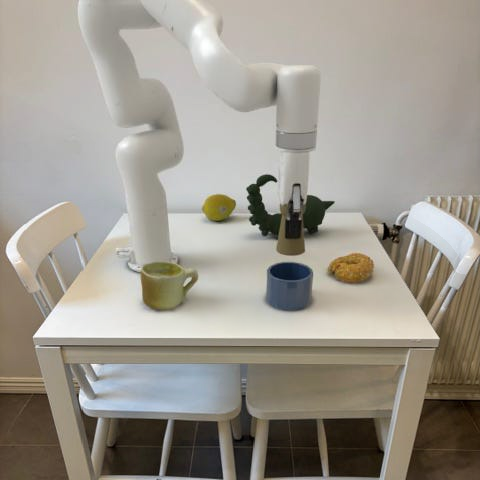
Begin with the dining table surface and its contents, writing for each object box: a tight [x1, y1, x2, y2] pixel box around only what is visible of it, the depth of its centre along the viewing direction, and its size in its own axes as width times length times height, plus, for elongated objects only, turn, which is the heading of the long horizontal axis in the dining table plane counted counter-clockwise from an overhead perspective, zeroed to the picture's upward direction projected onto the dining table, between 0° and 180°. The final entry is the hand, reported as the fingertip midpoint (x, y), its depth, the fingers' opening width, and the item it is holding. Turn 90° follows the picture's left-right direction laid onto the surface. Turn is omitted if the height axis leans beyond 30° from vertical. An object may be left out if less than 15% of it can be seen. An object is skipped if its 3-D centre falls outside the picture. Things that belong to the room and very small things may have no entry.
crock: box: [265, 261, 314, 312], centre depth 105 cm, size 10×10×7 cm
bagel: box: [327, 252, 375, 284], centre depth 116 cm, size 10×11×5 cm
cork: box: [276, 201, 306, 257], centre depth 98 cm, size 6×6×11 cm
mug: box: [140, 261, 199, 311], centre depth 105 cm, size 12×10×10 cm
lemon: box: [201, 193, 237, 222], centre depth 149 cm, size 11×8×8 cm
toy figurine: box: [245, 173, 335, 239], centre depth 136 cm, size 9×19×25 cm
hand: (291, 232), depth 99 cm, fingers closed on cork, 4 cm apart
